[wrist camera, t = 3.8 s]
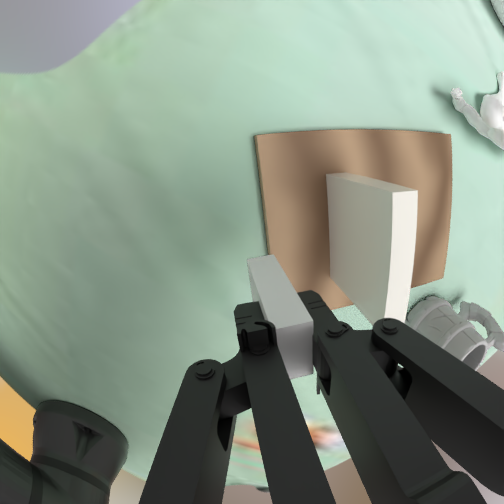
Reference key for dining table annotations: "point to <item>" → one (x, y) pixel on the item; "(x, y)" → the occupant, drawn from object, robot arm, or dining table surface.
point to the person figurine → (485, 113)
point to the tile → (372, 243)
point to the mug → (456, 329)
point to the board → (316, 201)
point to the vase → (499, 9)
